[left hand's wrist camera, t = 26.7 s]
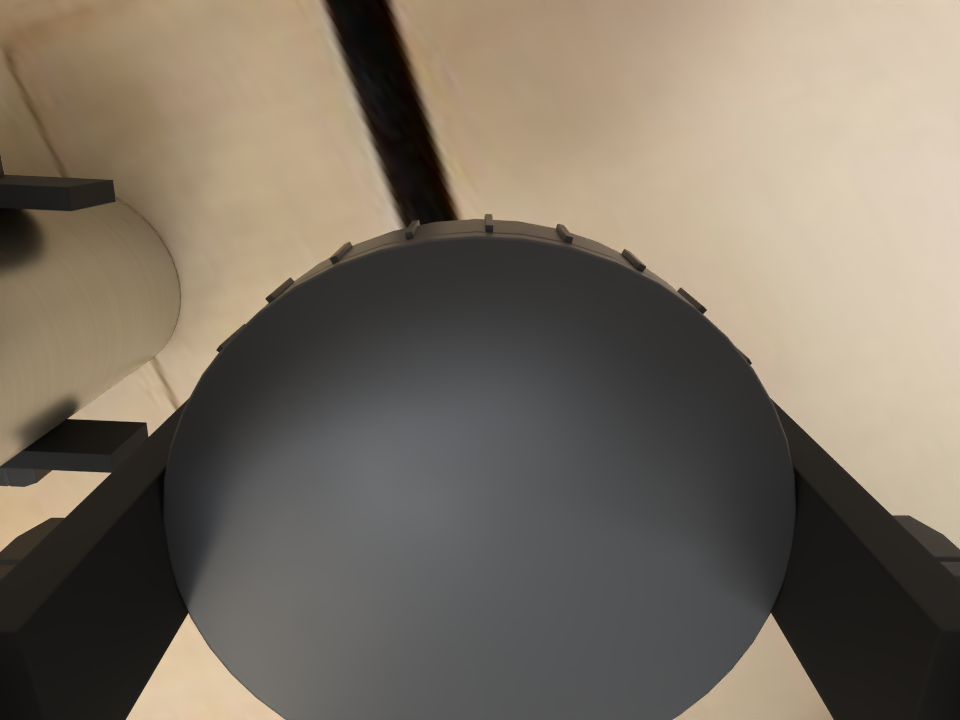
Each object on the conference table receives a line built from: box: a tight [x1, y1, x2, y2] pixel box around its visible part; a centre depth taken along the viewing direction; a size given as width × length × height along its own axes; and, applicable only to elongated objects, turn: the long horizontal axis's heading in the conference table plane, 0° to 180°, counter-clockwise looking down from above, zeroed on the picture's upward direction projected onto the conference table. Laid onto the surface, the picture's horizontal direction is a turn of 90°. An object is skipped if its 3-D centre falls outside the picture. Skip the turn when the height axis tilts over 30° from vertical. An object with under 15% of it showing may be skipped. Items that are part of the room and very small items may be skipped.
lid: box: [163, 214, 796, 720], centre depth 11 cm, size 10×10×2 cm
